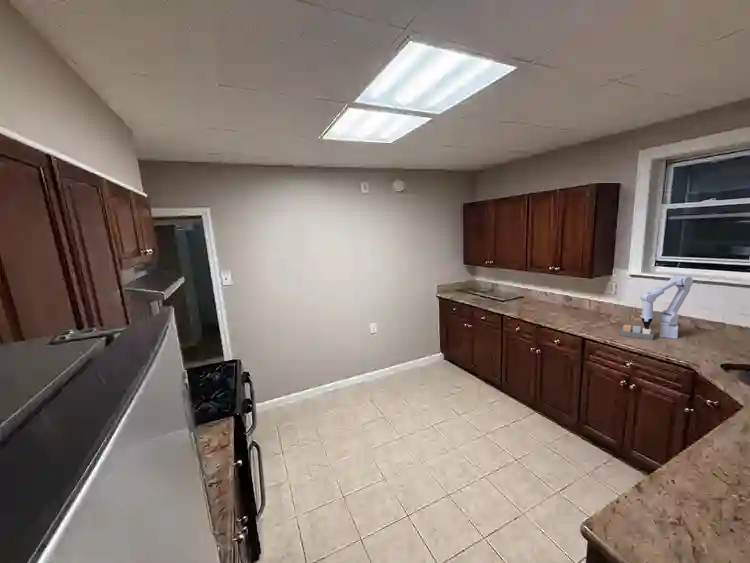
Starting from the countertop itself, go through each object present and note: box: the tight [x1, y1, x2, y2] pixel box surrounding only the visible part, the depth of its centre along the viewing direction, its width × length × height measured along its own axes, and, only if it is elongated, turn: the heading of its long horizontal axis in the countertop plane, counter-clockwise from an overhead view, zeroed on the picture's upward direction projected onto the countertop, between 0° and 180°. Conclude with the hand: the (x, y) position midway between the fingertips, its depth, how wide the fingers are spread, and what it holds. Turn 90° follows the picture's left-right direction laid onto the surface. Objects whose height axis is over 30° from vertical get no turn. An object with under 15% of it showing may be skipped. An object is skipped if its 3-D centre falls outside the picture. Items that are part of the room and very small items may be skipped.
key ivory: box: [642, 327, 652, 334], centre depth 232 cm, size 4×4×4 cm
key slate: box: [632, 325, 642, 333], centre depth 235 cm, size 4×4×4 cm
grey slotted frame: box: [619, 327, 655, 341], centre depth 236 cm, size 19×9×3 cm, turn 47°
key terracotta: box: [622, 324, 632, 332], centre depth 239 cm, size 4×4×4 cm
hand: (646, 328), depth 231 cm, fingers closed, pressing on key ivory
